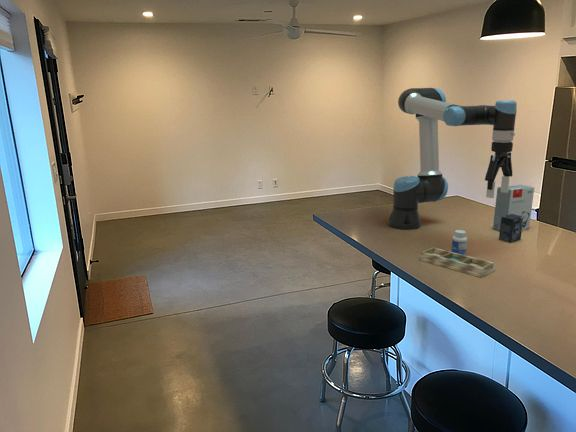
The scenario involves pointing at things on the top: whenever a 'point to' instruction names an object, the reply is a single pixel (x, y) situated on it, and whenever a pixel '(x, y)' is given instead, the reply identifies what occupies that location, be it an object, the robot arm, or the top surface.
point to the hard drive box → (514, 204)
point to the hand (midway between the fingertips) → (497, 194)
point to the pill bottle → (459, 242)
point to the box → (511, 228)
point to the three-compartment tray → (457, 262)
